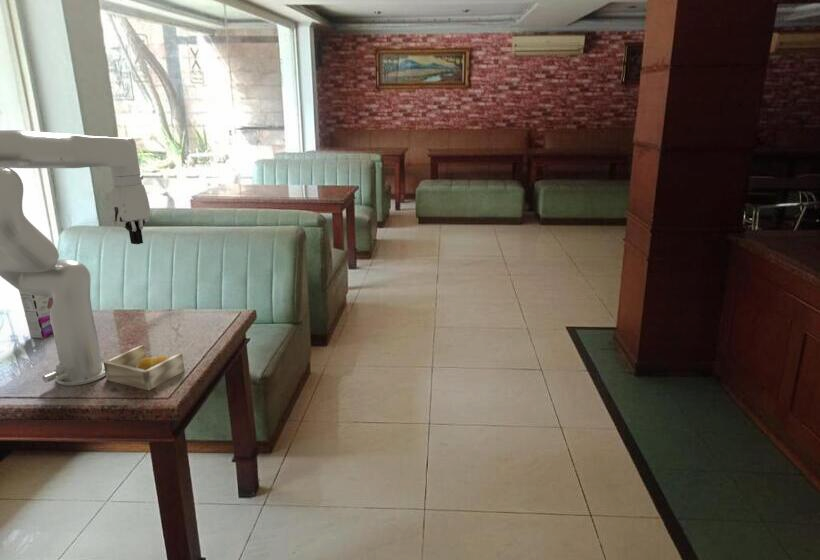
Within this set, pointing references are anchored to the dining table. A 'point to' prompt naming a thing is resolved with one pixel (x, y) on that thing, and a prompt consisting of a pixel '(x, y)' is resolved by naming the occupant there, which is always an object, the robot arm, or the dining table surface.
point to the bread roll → (150, 362)
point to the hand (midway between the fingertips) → (137, 243)
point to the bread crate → (128, 374)
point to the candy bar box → (38, 314)
